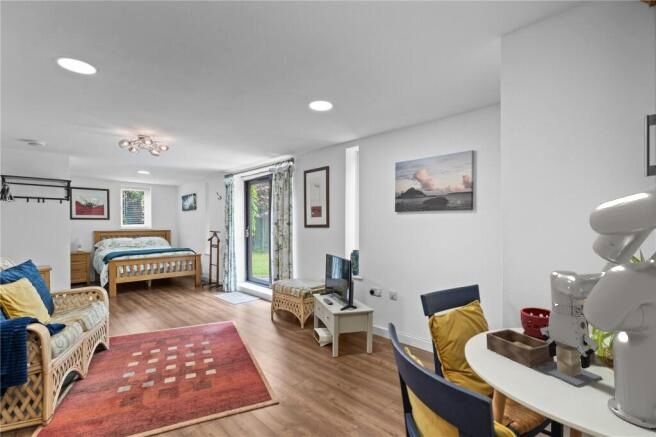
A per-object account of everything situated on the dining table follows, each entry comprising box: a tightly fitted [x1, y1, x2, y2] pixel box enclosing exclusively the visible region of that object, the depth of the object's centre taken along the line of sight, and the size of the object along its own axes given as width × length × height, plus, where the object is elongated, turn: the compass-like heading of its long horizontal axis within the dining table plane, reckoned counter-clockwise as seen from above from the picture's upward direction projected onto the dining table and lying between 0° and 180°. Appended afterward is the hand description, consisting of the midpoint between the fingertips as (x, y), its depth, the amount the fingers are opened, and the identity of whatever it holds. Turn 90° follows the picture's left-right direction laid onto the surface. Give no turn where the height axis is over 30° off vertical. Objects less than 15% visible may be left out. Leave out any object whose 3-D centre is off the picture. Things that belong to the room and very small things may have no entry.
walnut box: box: [486, 328, 555, 369], centre depth 118 cm, size 18×12×6 cm, turn 21°
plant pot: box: [519, 306, 552, 342], centre depth 131 cm, size 13×13×12 cm
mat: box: [537, 362, 603, 388], centre depth 103 cm, size 12×12×1 cm
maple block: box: [556, 344, 582, 377], centre depth 103 cm, size 4×4×8 cm
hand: (568, 361), depth 102 cm, fingers open, 9 cm apart
